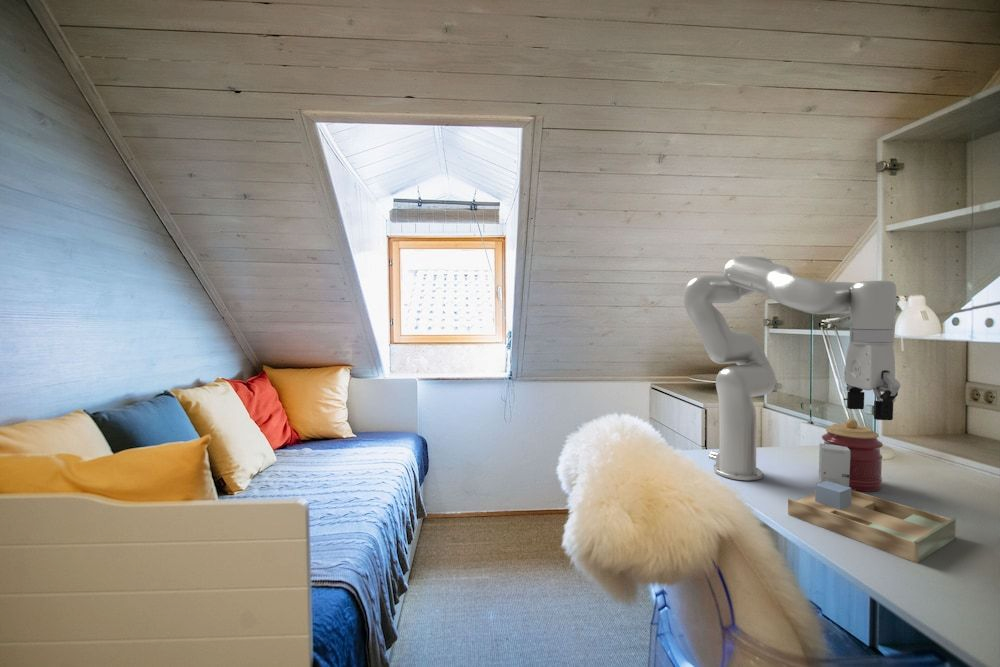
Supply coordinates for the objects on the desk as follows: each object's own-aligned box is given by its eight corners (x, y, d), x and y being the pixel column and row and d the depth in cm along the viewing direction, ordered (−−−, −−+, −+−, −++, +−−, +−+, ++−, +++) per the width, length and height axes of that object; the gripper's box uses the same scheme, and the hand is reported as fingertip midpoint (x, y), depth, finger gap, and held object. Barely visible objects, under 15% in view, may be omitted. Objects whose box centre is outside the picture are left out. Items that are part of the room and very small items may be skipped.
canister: (844, 471, 127) (845, 411, 127) (894, 489, 115) (896, 422, 114) (809, 477, 124) (810, 415, 123) (857, 495, 112) (858, 426, 111)
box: (787, 514, 102) (788, 497, 102) (828, 497, 110) (829, 482, 110) (917, 563, 82) (917, 542, 82) (955, 538, 90) (955, 519, 90)
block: (815, 501, 103) (815, 484, 103) (826, 497, 105) (826, 480, 105) (839, 509, 98) (839, 492, 98) (850, 504, 101) (851, 487, 100)
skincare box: (820, 493, 113) (820, 447, 112) (817, 487, 117) (818, 442, 116) (850, 498, 110) (851, 450, 109) (846, 491, 114) (847, 445, 113)
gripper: (830, 334, 105) (828, 404, 106) (877, 340, 88) (874, 423, 90) (866, 334, 104) (863, 405, 105) (920, 340, 87) (916, 425, 88)
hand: (868, 414), depth 97 cm, fingers open, 9 cm apart
